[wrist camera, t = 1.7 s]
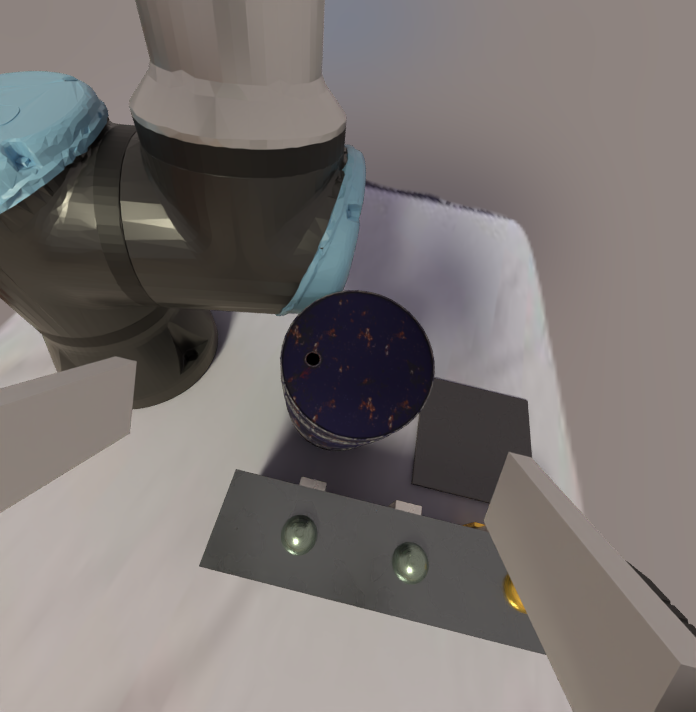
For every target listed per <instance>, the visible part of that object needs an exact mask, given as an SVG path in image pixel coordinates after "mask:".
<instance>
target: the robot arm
mask: <svg viewBox="0 0 696 712" xmlns="http://www.w3.org/2000/svg"><path fill="white" fill-rule="evenodd" d="M135 2H136V5H137V10H138V14H139V18H140V22H141V26H142V30H143V33H144V38H145V42H146V45H147V50H148V54H149V57H150V63H149V69H148V70H147V72H146V74H145V75H144V77H143V78H142V80H141V82H140V83H139V85H138V87H137V89H136V90H135V91H134V93H133V95H132V96H131V98H130V100H129V107H130V110H131V114H132V118H133V121H134V124H135V126H133V125H122V124H115V123H112V122H111V121H109V118H108V110H107V108H106V105H105V104H104V102H102V101H101V100H100V99H99V98H98V97H97V95H96V93H95V92H94V90H93V89H92V88H91V87H90V86H88V85H87V84H86V83H84V82H82V81H80V80H78V79H76V78H74V77H72V76H70V75H67V74H62V73H57V72H46V71H25V72H14V73H6V74H0V298H1V299H2V300H3V301H4V302H5V303H7V304H8V305H9V306H10V307H11V308H12V309H13V310H15V311H16V312H17V313H18V314H19V315H20V316H21V317H23V318H24V319H25V320H26V321H27V322H28V323H29V324H31V325H32V326H33V327H34V328H35V329H37V330H38V331H39V332H40V333H41V334H42V336H43V338H44V341H45V343H46V346H47V348H48V351H49V353H50V355H51V358H52V360H53V363H54V365H55V368H56V370H57V372H58V373H54V374H51V375H47V376H44V377H40V378H37V379H33V380H30V381H26V382H22V383H19V384H15V385H12V386H8V387H5V388H1V389H0V513H1V512H3V511H4V510H6V509H7V508H9V507H11V506H12V505H14V504H16V503H17V502H19V501H21V500H22V499H24V498H25V497H27V496H29V495H30V494H32V493H34V492H35V491H37V490H38V489H40V488H42V487H43V486H45V485H47V484H48V483H50V482H51V481H53V480H55V479H56V478H58V477H60V476H61V475H63V474H64V473H66V472H68V471H69V470H71V469H73V468H74V467H76V466H77V465H79V464H81V463H82V462H84V461H86V460H87V459H89V458H90V457H92V456H94V455H95V454H97V453H99V452H100V451H102V450H103V449H105V448H107V447H108V446H110V445H112V444H113V443H115V442H116V441H118V440H120V439H121V438H123V437H125V436H126V435H128V434H130V427H131V416H132V409H139V408H145V407H150V406H153V405H157V404H160V403H162V402H165V401H167V400H169V399H172V398H174V397H175V396H177V395H179V394H181V393H182V392H184V391H185V390H187V389H188V388H189V387H191V386H192V385H193V384H194V383H195V382H196V381H197V380H198V379H199V378H200V377H201V376H202V375H203V374H204V373H205V371H206V370H207V369H208V367H209V366H210V364H211V362H212V360H213V358H214V355H215V353H216V349H217V344H218V333H217V327H216V324H215V322H214V319H213V316H212V314H211V311H210V310H219V311H235V312H251V313H267V314H275V315H276V316H281V315H282V316H284V315H286V314H288V313H296V314H299V313H300V312H301V311H302V310H303V309H305V308H306V307H307V306H308V305H310V304H311V303H313V302H314V301H316V300H318V299H320V298H322V297H324V296H326V295H329V294H332V293H335V292H341V291H343V289H344V286H345V283H346V281H347V278H348V275H349V271H350V268H351V264H352V260H353V256H354V252H355V247H356V243H357V238H358V232H359V226H360V224H359V216H360V214H361V209H362V204H363V200H364V193H365V180H366V178H365V177H366V168H365V160H364V157H363V154H362V153H361V152H360V151H359V150H356V149H355V148H354V147H353V146H351V145H344V143H345V131H346V114H345V112H344V111H343V109H342V108H341V106H340V105H339V103H338V102H337V100H336V99H335V97H334V96H333V94H332V93H331V91H330V90H329V88H328V87H327V85H326V84H325V81H324V78H323V75H322V59H323V57H322V56H323V31H324V4H325V0H135ZM484 523H485V525H486V527H487V529H488V531H489V533H490V536H491V538H492V540H493V542H494V544H495V546H496V548H497V551H498V553H499V555H500V557H501V559H502V561H503V563H504V565H505V568H506V570H507V572H508V574H509V576H510V578H511V580H512V582H513V585H514V587H515V589H516V591H517V593H518V595H519V597H520V600H521V602H522V604H523V606H524V608H525V610H526V612H527V614H528V617H529V619H530V621H531V623H532V625H533V627H534V629H535V631H536V634H537V636H538V638H539V640H540V642H541V644H542V646H543V649H544V651H545V653H546V655H547V657H548V659H549V661H550V663H551V666H552V668H553V670H554V672H555V674H556V676H557V678H558V680H559V683H560V685H561V687H562V689H563V691H564V693H565V695H566V698H567V700H568V702H569V704H570V706H571V708H572V710H573V712H696V628H695V627H694V626H693V625H691V624H688V620H687V618H685V616H684V615H683V614H682V613H681V612H680V611H679V610H678V609H677V608H676V607H675V606H673V605H671V604H670V600H669V599H668V598H667V597H666V596H665V595H664V594H663V593H662V592H661V591H660V590H659V589H658V588H657V587H656V585H655V584H654V583H653V582H652V581H651V580H650V579H649V578H647V577H646V576H645V575H643V574H642V573H641V572H640V571H638V570H637V569H636V568H635V567H633V566H632V565H631V564H630V563H628V562H627V561H626V560H624V559H623V557H622V556H621V555H620V554H619V553H618V552H617V551H616V550H615V549H614V548H613V546H612V545H611V544H610V543H609V542H608V541H607V540H606V539H605V538H604V537H603V535H602V534H601V533H600V532H599V531H598V530H597V529H596V528H595V527H594V526H593V525H592V524H591V522H590V521H589V520H588V519H587V518H586V517H585V516H584V515H583V514H582V513H581V511H580V510H579V509H578V508H577V507H576V506H575V505H574V504H573V503H572V502H571V501H570V499H569V498H568V497H567V496H566V495H565V494H564V493H563V492H562V491H561V490H560V489H559V487H558V486H557V485H556V484H555V483H554V482H553V481H552V480H551V479H550V478H549V476H548V475H547V474H546V473H545V472H544V471H543V470H542V469H541V468H540V467H539V466H538V464H537V463H536V462H535V461H534V460H533V459H532V458H531V457H528V456H523V455H519V454H515V453H511V452H508V455H507V458H506V461H505V463H504V466H503V469H502V472H501V474H500V477H499V480H498V483H497V485H496V488H495V491H494V494H493V496H492V499H491V502H490V505H489V507H488V510H487V513H486V516H485V518H484Z"/></svg>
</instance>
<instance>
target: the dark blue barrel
mask: <svg viewBox="0 0 696 712" xmlns="http://www.w3.org/2000/svg"><path fill="white" fill-rule="evenodd" d="M280 362H281V382H282V387H283V392H284V397H285V400H286V405H287V410H288V412H289V415H290V418H291V420H292V422H293V424H294V426H295V428H296V429H297V430H298V432H299V433H300V434H301V435H302V436H303V437H304V438H305V439H306V440H307V441H308V442H310V443H312V444H313V445H315V446H317V447H320V448H323V449H327V450H335V451H341V450H349V449H353V448H357V447H359V446H361V445H365V444H369V443H372V442H375V441H378V440H380V439H383V438H385V437H387V436H389V435H391V434H392V433H395V432H397V431H399V430H400V429H402V428H403V427H405V426H406V425H408V424H409V423H410V422H411V421H412V420H413V419H414V418H415V417H416V416H417V415H418V414H419V412H420V411H421V410H422V409H423V407H424V406H425V404H426V402H427V400H428V398H429V396H430V393H431V389H432V386H433V381H434V374H435V366H434V357H433V351H432V348H431V345H430V342H429V339H428V337H427V335H426V333H425V331H424V329H423V328H422V327H421V325H420V324H419V322H418V321H417V320H416V319H415V318H414V317H413V315H412V314H411V313H410V312H409V311H407V310H406V309H405V308H404V307H402V306H401V305H400V304H398V303H396V302H395V301H393V300H391V299H389V298H387V297H384V296H382V295H379V294H376V293H372V292H367V291H359V290H352V291H341V292H335V293H332V294H329V295H326V296H324V297H322V298H320V299H318V300H316V301H314V302H313V303H311V304H310V305H308V306H307V307H306V308H305V309H303V310H302V311H301V312H300V313H299V314H298V315H297V317H296V318H295V319H294V321H293V322H292V324H291V325H290V327H289V329H288V331H287V333H286V335H285V338H284V341H283V345H282V350H281V357H280Z"/></svg>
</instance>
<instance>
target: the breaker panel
mask: <svg viewBox="0 0 696 712" xmlns="http://www.w3.org/2000/svg"><path fill="white" fill-rule="evenodd" d="M508 452H511V453H515V454H519V455H523V456H528V457H531V458H532V452H531V439H530V426H529V413H528V401H527V400H522V399H518V398H514V397H510V396H506V395H502V394H498V393H493V392H489V391H485V390H481V389H477V388H473V387H469V386H464V385H460V384H456V383H452V382H448V381H444V380H440V379H435V378H434V381H433V386H432V389H431V393H430V396H429V398H428V400H427V402H426V404H425V406H424V407H423V409H422V410H421V411H420V412H419V421H418V431H417V440H416V449H415V458H414V467H413V477H412V484H415V485H419V486H423V487H427V488H431V489H435V490H439V491H443V492H447V493H451V494H455V495H459V496H463V497H467V498H471V499H475V500H479V501H483V502H487V503H490V502H491V499H492V496H493V494H494V491H495V488H496V485H497V483H498V480H499V477H500V474H501V472H502V469H503V466H504V463H505V461H506V458H507V455H508ZM326 484H327V483H326V482H322V481H318V480H314V479H310V478H306V477H301V481H300V485H297V484H293V483H289V482H285V481H281V480H277V479H273V478H269V477H265V476H261V475H257V474H253V473H249V472H245V471H241V470H237V469H236V471H235V473H234V476H233V479H232V481H231V484H230V486H229V489H228V492H227V494H226V497H225V499H224V502H223V505H222V507H221V510H220V513H219V515H218V518H217V520H216V523H215V526H214V528H213V531H212V533H211V536H210V539H209V541H208V544H207V547H206V549H205V552H204V554H203V557H202V560H201V562H200V565H199V566H200V567H204V568H208V569H211V570H215V571H219V572H223V573H227V574H231V575H235V576H239V577H243V578H247V579H251V580H255V581H259V582H262V583H266V584H270V585H274V586H278V587H282V588H286V589H290V590H294V591H298V592H302V593H306V594H309V595H313V596H317V597H321V598H325V599H329V600H333V601H337V602H341V603H345V604H349V605H353V606H356V607H360V608H364V609H368V610H372V611H376V612H380V613H384V614H388V615H392V616H396V617H400V618H403V619H407V620H411V621H415V622H419V623H423V624H427V625H431V626H435V627H439V628H443V629H447V630H451V631H454V632H458V633H462V634H466V635H470V636H474V637H478V638H482V639H486V640H490V641H494V642H498V643H501V644H505V645H509V646H513V647H517V648H521V649H525V650H529V651H533V652H537V653H541V654H545V655H546V653H545V651H544V649H543V646H542V644H541V642H540V640H539V638H538V636H537V634H536V631H535V629H534V627H533V625H532V623H531V621H530V619H529V617H528V614H527V612H526V610H525V608H524V606H523V604H522V602H521V600H520V597H519V595H518V593H517V591H516V589H515V587H514V585H513V582H512V580H511V578H510V576H509V574H508V572H507V570H506V568H505V565H504V563H503V561H502V559H501V557H500V555H499V553H498V551H497V548H496V546H495V544H494V542H493V540H492V538H491V536H490V533H489V531H488V529H487V527H486V525H484V524H480V523H476V522H473V523H469V524H465V525H458V524H454V523H450V522H446V521H442V520H438V519H434V518H430V517H426V516H422V515H421V511H422V506H418V505H414V504H410V503H406V502H402V501H398V500H396V501H394V502H393V503H392V504H390V505H389V506H388V507H386V506H382V505H378V504H374V503H370V502H366V501H362V500H358V499H354V498H350V497H346V496H342V495H338V494H334V493H330V492H326V491H325V489H326Z"/></svg>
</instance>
